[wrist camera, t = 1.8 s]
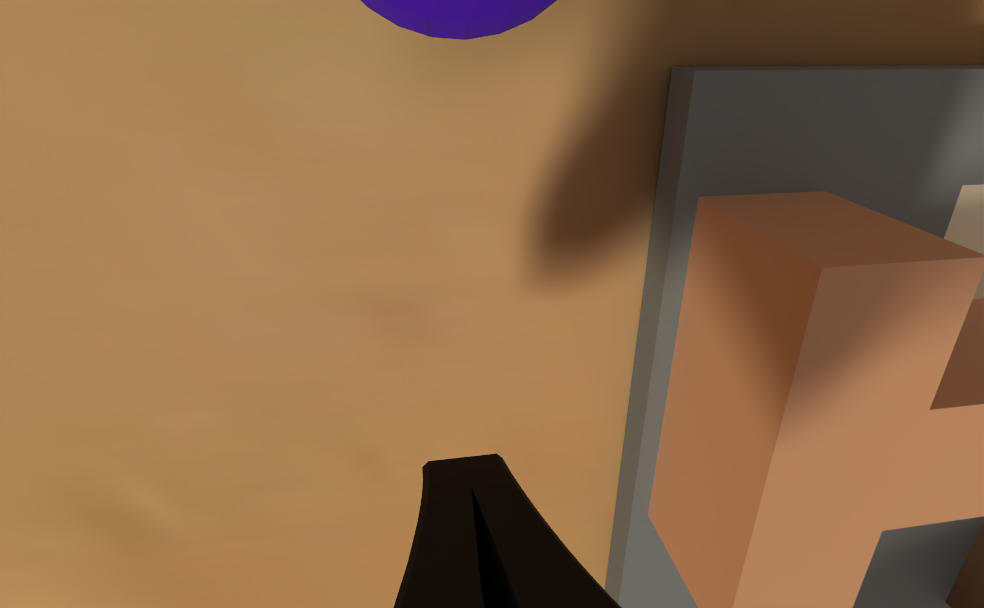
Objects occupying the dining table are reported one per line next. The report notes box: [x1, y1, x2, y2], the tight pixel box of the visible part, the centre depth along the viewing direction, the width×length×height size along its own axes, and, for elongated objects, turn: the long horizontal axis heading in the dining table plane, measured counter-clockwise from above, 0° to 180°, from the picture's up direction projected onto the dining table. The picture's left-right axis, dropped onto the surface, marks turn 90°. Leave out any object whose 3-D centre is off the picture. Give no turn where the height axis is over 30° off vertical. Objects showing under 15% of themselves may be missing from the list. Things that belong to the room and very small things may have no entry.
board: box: [605, 65, 984, 608], centre depth 17 cm, size 18×17×1 cm
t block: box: [648, 191, 984, 608], centre depth 14 cm, size 9×9×4 cm
